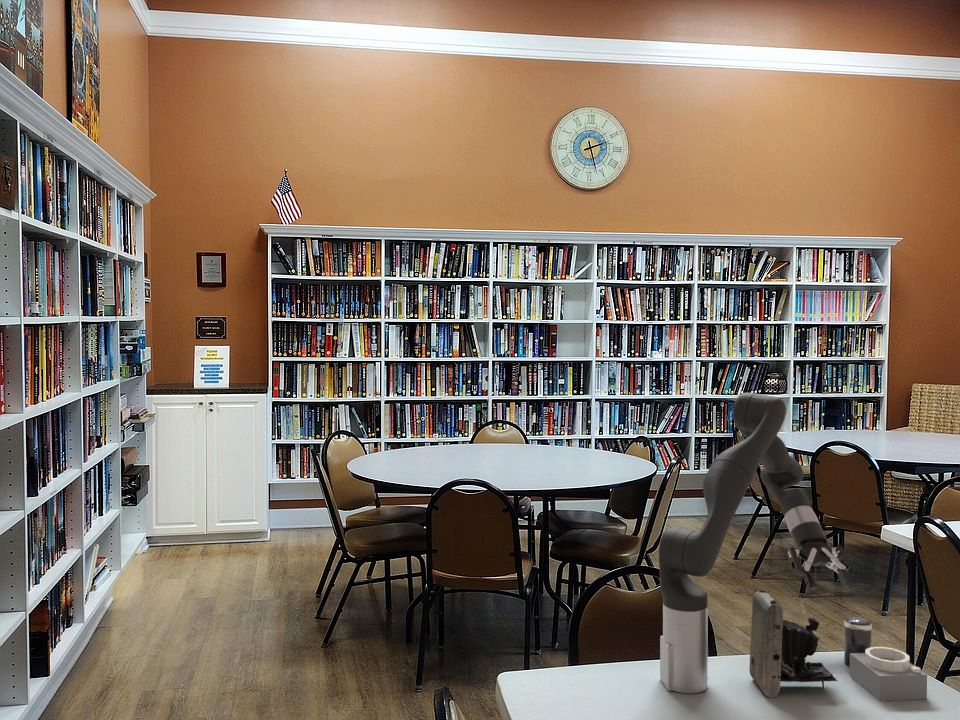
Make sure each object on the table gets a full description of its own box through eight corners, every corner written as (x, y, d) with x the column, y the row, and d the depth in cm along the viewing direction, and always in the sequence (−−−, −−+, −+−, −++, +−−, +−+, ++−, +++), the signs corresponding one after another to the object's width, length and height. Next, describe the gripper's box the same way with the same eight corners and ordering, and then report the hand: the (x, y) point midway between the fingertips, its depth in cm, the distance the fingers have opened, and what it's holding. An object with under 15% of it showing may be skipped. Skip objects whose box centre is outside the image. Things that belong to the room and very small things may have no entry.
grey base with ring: (879, 700, 166) (879, 666, 166) (849, 676, 178) (849, 644, 178) (926, 699, 167) (927, 665, 167) (894, 674, 179) (894, 643, 179)
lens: (851, 669, 182) (852, 625, 181) (839, 659, 187) (839, 616, 187) (876, 669, 182) (876, 624, 182) (863, 659, 188) (863, 615, 187)
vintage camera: (838, 701, 167) (842, 604, 167) (762, 698, 168) (766, 601, 167) (819, 681, 177) (823, 590, 177) (747, 679, 177) (751, 587, 177)
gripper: (783, 521, 203) (808, 581, 192) (837, 519, 205) (864, 578, 194) (773, 537, 208) (796, 596, 197) (825, 535, 210) (851, 593, 199)
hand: (830, 587), depth 195 cm, fingers open, 8 cm apart
